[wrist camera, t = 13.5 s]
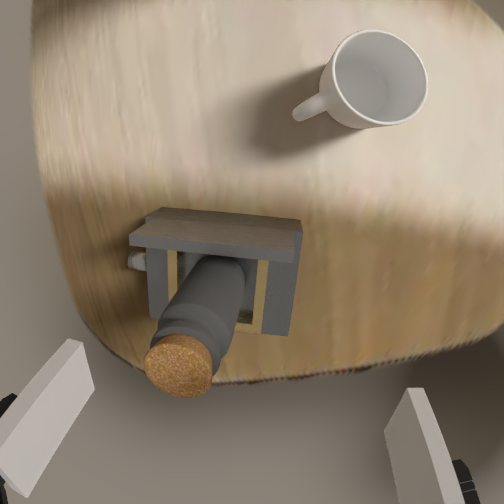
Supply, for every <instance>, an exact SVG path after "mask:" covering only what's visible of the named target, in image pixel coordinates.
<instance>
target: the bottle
mask: <svg viewBox="0 0 504 504" xmlns="http://www.w3.org/2000/svg"><path fill="white" fill-rule="evenodd" d="M245 282H246V281H245V275H244V273H243V270H242V269H241V267H240V266H239V265H238V264H237V263H236V262H235V261H234V260H232V259H230V258H228V257H226V256H219V255H209V256H206V257H204V258H202V259H201V260H199V261H198V262H197V263H196V264H195V266H194V267H193V268H192V270H191V271H190V272H189V274H188V275H187V277H186V278H185V280H184V281H183V283H182V284H181V286H180V287H179V289H178V290H177V292H176V293H175V295H174V296H173V297H172V299H171V300H170V302H169V304H168V305H167V307H166V308H165V310H164V312H163V313H162V315H161V317H160V319H159V322H158V330H157V331H156V333H155V334H154V336H153V338H152V341H151V345H150V350H149V351H148V352H147V353H146V355H145V358H144V369H145V372H146V374H147V376H148V377H149V379H150V380H151V381H152V383H153V384H154V385H155V386H157V387H158V388H159V389H161V390H162V391H164V392H166V393H168V394H170V395H173V396H177V397H181V398H192V397H197V396H200V395H202V394H204V393H205V392H206V391H207V390H208V389H209V388H210V386H211V383H212V377H213V376H214V375H215V374H216V372H217V371H218V368H219V366H220V362H221V358H223V357H224V356H225V354H226V353H227V351H228V349H229V346H230V344H231V341H232V337H233V333H234V329H235V326H236V322H237V318H238V314H239V310H240V306H241V302H242V298H243V294H244V290H245Z"/></svg>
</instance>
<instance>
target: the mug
mask: <svg viewBox="0 0 504 504" xmlns="http://www.w3.org/2000/svg"><path fill="white" fill-rule="evenodd" d="M427 92H428V79H427V73H426V70H425V67H424V65H423V62H422V61H421V59H420V57H419V56H418V54H417V53H416V52H415V50H414V49H413V48H412V47H411V46H410V45H409V44H408V43H406V42H405V41H404V40H402V39H401V38H399V37H397V36H396V35H393V34H391V33H388V32H385V31H381V30H363V31H358V32H356V33H353V34H351V35H349V36H348V37H346V38H345V39H344V40H343V41H342V42H341V43H340V44H339V45H338V47H337V49H336V50H335V52H334V53H333V55H332V57H331V59H330V60H329V62H328V64H327V65H326V67H325V69H324V71H323V73H322V75H321V78H320V82H319V93H317V94H316V95H314V96H312V97H310V98H309V99H307V100H305V101H304V102H302V103H301V104H299V105H298V106H297V107H296V108H294V110H293V111H292V117H293V119H294V120H296V121H304V120H306V119H308V118H311V117H313V116H315V115H317V114H320V113H322V112H325V111H327V112H328V113H329V115H330V116H331V117H332V118H334V119H335V120H336V121H338V122H339V123H341V124H343V125H345V126H348V127H351V128H357V129H366V128H374V127H382V126H391V125H398V124H401V123H404V122H406V121H408V120H410V119H411V118H413V117H414V116H415V115H416V114H417V113H418V112H419V111H420V110H421V108H422V106H423V105H424V102H425V100H426V97H427Z"/></svg>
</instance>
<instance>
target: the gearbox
mask: <svg viewBox="0 0 504 504" xmlns="http://www.w3.org/2000/svg"><path fill="white" fill-rule="evenodd" d="M302 235H303V230H302V225H301V221H300V220H296V219H287V218H278V217H268V216H258V215H248V214H237V213H226V212H215V211H203V210H191V209H178V208H165V207H162V208H160V209H158V210H157V211H155V212H153V213H151V214H150V215H148V216H147V217H145V224H144V225H143V226H141V227H140V228H138V229H137V230H135V231H134V232H132V233H131V234H129V246H138V247H146V251H140V250H131V251H130V253H129V256H128V267H129V269H130V270H136V271H143V272H147V283H148V298H149V312H150V318H154V319H160V317H161V315H162V313H163V312H164V310H165V308H166V307H167V305H168V304H169V302H170V300H171V299H172V297H173V296H174V295H175V293H176V292H177V290H178V289H179V287H180V286H181V284H182V283H183V281H184V280H185V278H186V277H187V275H188V274H189V272H190V271H191V270H192V268H193V267H194V266H195V264H196V263H197V262H198V261H199V260H201V259H202V258H204V257H206V256H209V255H219V256H226V257H228V258H230V259H232V260H234V261H235V262H236V263H237V264H238V265H239V266H240V267H241V269H242V270H243V273H244V275H245V281H246V282H245V290H244V294H243V298H242V302H241V306H240V310H239V314H238V318H237V322H236V326H235V329H234V330H235V331H243V332H252V333H261V334H270V335H280V336H288V332H289V326H290V319H291V313H292V306H293V300H294V293H295V286H296V279H297V272H298V265H299V258H300V250H301V243H302Z"/></svg>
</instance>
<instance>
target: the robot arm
mask: <svg viewBox="0 0 504 504" xmlns="http://www.w3.org/2000/svg"><path fill="white" fill-rule="evenodd" d="M94 389H95V388H94V385H93V381H92V377H91V374H90V370H89V366H88V362H87V359H86V354H85V350H84V346H83V343H82V342H79V341H76V340H72V339H67V340H66V342H65V343H64V344H63V345H62V346H61V347H60V348H59V349H58V350H57V352H56V353H55V354H54V355H53V356H52V357H51V358H50V359H49V361H48V362H47V363H46V364H45V365H44V366H43V367H42V368H41V370H40V371H39V372H38V373H37V374H36V375H35V377H34V378H33V379H32V380H31V381H30V383H29V384H28V385H27V386H26V387H25V388H24V390H23V391H22V392H21V393H20V394H19V396H17V395H15V394H13V393H12V394H10V395H9V396H7V397H5V398H3V399H2V400H1V401H0V504H8V501H7V496H6V491H5V488H4V486H3V485H4V483H5V482H6V483H7V484H8V485H9V486H10V487H11V488H12V489H13V490H15V491H17V492H18V493H20V494H21V495H23V496H25V497H26V498H28V497H29V495H30V493H31V491H32V489H33V488H34V486H35V484H36V482H37V481H38V479H39V478H40V475H41V474H42V472H43V471H44V469H45V467H46V466H47V464H48V462H49V461H50V459H51V457H52V456H53V454H54V452H55V451H56V449H57V448H58V446H59V444H60V443H61V441H62V439H63V438H64V436H65V435H66V433H67V431H68V430H69V428H70V427H71V425H72V423H73V422H74V420H75V419H76V417H77V416H78V414H79V412H80V411H81V409H82V408H83V406H84V405H85V403H86V402H87V400H88V399H89V397H90V396H91V394H92V392H93V391H94ZM384 434H385V438H386V443H387V447H388V451H389V455H390V460H391V465H392V470H393V474H394V479H395V484H396V489H397V495H398V500H399V504H480V501H479V498H478V494H477V491H475V485H474V483H473V482H472V477H471V475H470V471H469V469H468V467H467V466H466V465H465V464H464V463H463V461H462V460H461V459H459V460H454V461H451V458H450V456H449V453H448V450H447V447H446V445H445V442H444V439H443V437H442V434H441V432H440V429H439V426H438V423H437V421H436V418H435V416H434V414H433V411H432V408H431V406H430V403H429V401H428V399H427V396H426V394H425V392H424V389H423V388H407V389H406V391H405V393H404V395H403V397H402V399H401V401H400V403H399V405H398V406H397V408H396V410H395V412H394V414H393V416H392V417H391V420H390V421H389V423H388V424H387V426H386V428H385V430H384Z"/></svg>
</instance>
